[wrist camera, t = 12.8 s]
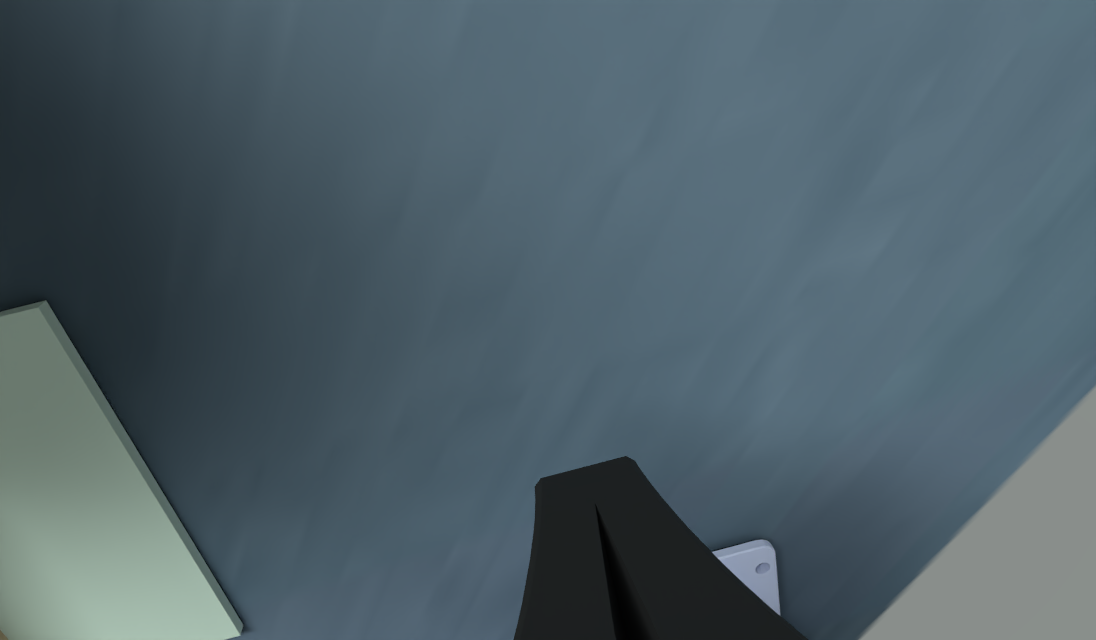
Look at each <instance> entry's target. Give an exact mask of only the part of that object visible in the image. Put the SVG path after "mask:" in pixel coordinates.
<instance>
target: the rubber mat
mask: <svg viewBox="0 0 1096 640" xmlns="http://www.w3.org/2000/svg"><path fill="white" fill-rule="evenodd" d="M242 628H243V624H242V622H241V620H240V619H239V617H238V615H237V614H236V612H235V610H234V609H233V607H232V606H231V604H230V602H229V601H228V599H227V597H226V596H225V594H224V592H223V591H222V589H221V587H220V586H219V584H218V583H217V581H216V579H215V578H214V576H213V574H212V573H211V571H210V569H209V568H208V566H207V564H206V563H205V561H204V559H203V558H202V556H201V555H200V553H199V551H198V550H197V548H196V546H195V545H194V543H193V541H192V540H191V538H190V536H189V535H188V533H187V531H186V530H185V528H184V527H183V525H182V523H181V522H180V520H179V518H178V517H177V515H176V513H175V512H174V510H173V508H172V507H171V505H170V503H169V502H168V500H167V499H166V497H165V495H164V494H163V492H162V490H161V489H160V487H159V485H158V484H157V482H156V480H155V479H154V477H153V476H152V474H151V472H150V471H149V469H148V467H147V466H146V464H145V462H144V461H143V459H142V457H141V456H140V454H139V452H138V451H137V449H136V448H135V446H134V444H133V443H132V441H131V439H130V438H129V436H128V434H127V433H126V431H125V429H124V428H123V426H122V424H121V423H120V421H119V420H118V418H117V416H116V415H115V413H114V411H113V410H112V408H111V406H110V405H109V403H108V401H107V400H106V398H105V396H104V395H103V393H102V392H101V390H100V388H99V387H98V385H97V383H96V382H95V380H94V378H93V377H92V375H91V373H90V372H89V370H88V369H87V367H86V365H85V364H84V362H83V360H82V359H81V357H80V355H79V354H78V352H77V350H76V349H75V347H74V345H73V344H72V342H71V341H70V339H69V337H68V336H67V334H66V332H65V331H64V329H63V327H62V326H61V324H60V322H59V321H58V319H57V317H56V316H55V314H54V313H53V311H52V309H51V308H50V306H49V304H48V303H47V301H46V300H45V301H41V302H37V303H33V304H29V305H25V306H21V307H17V308H13V309H9V310H5V311H1V312H0V630H1V631H2V633H3V634H4V635H5V636H6V637H7V638H8V640H225V639H229V638H233V637H236V636H240V635H241V632H242Z"/></svg>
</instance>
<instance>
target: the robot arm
mask: <svg viewBox="0 0 1096 640" xmlns="http://www.w3.org/2000/svg"><path fill="white" fill-rule="evenodd" d="M761 563H762V564H761ZM759 564H760V565H759ZM514 640H808V639H807V638H806V637H804V636H803V635H802V634H801V633H800V632H798V631H797V630H796V629H795V628H794V627H792V626H791V625H790V624H789V623H788V622H787V621H785V620H784V619H783V618H782V617H781V616H780V603H779V590H778V578H777V565H776V553H775V550H774V548H773V547H772V545H771V543H770V542H768V541H767V540H763V539H761V540H755V541H751V542H747V543H743V544H740V545H736V546H732V547H728V548H725V549H721V550H717V551H713V552H711V551H710V550H709V549H708V548H707V547H706V546H705V545H704V544H703V543H702V542H701V541H700V540H699V538H698V537H697V536H696V535H695V534H694V533H693V532H692V531H691V530H690V529H689V528H688V527H687V526H686V525H685V524H684V523H683V521H682V520H681V519H680V518H679V517H678V516H677V515H676V514H675V512H674V511H673V510H672V509H671V508H670V507H669V505H668V504H667V503H666V502H665V501H664V500H663V498H662V497H661V496H660V495H659V493H658V492H657V491H656V490H655V488H654V487H653V486H652V485H651V483H650V482H649V481H648V479H647V478H646V477H645V475H644V474H643V472H642V471H641V470H640V468H639V467H638V465H637V463H636V462H635V461H634V460H632V459H631V458H629V457H627V456H625V457H621V458H617V459H613V460H609V461H605V462H602V463H598V464H594V465H590V466H586V467H582V468H579V469H575V470H571V471H567V472H563V473H560V474H556V475H552V476H548V477H544V478H541V479H540V480H539V482H538V483H537V484H536V486H535V523H534V534H533V542H532V549H531V557H530V563H529V569H528V574H527V580H526V585H525V591H524V596H523V602H522V607H521V611H520V616H519V620H518V624H517V628H516V632H515V636H514Z"/></svg>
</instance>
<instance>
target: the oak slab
mask: <svg viewBox="0 0 1096 640" xmlns="http://www.w3.org/2000/svg"><path fill="white" fill-rule="evenodd" d="M0 640H8V638H7V637H6V636H5V635H4V634H3V633H2V631H1V630H0Z"/></svg>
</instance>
